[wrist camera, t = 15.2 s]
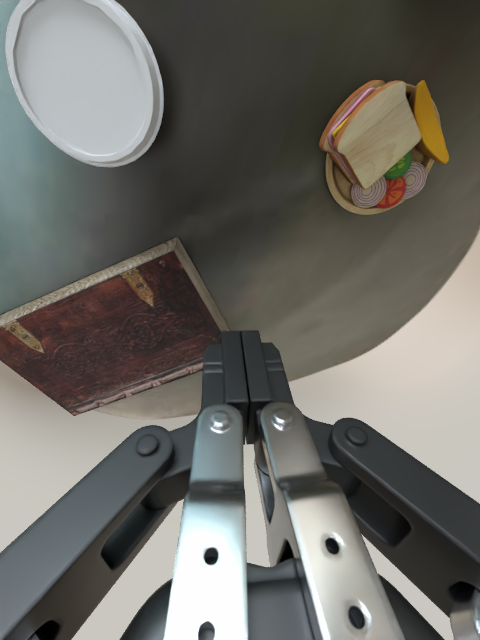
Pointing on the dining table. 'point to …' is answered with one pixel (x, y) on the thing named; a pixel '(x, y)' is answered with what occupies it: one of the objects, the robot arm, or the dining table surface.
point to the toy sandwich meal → (382, 146)
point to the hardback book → (115, 330)
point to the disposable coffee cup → (86, 78)
